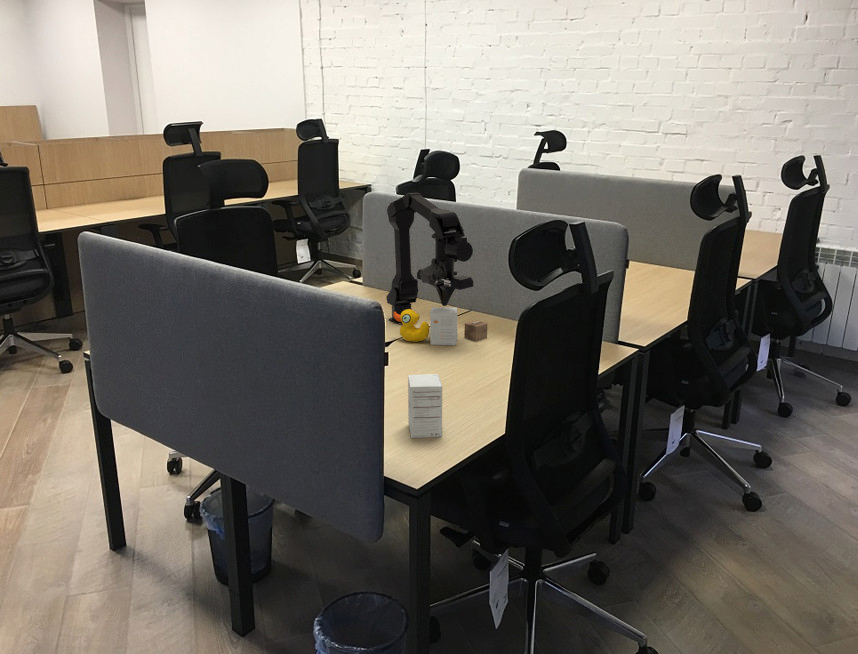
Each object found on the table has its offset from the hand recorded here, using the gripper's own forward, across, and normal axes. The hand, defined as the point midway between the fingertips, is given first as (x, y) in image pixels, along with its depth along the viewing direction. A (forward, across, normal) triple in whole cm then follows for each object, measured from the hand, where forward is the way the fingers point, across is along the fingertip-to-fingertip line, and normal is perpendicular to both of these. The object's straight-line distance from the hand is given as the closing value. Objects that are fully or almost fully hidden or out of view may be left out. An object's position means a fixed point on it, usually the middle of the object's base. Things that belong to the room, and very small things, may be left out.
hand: (444, 305), depth 226 cm
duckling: (+12, -8, -6) cm, 16 cm away
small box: (+12, 0, 0) cm, 12 cm away
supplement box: (+12, +40, -46) cm, 62 cm away
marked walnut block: (+12, +4, +10) cm, 16 cm away
